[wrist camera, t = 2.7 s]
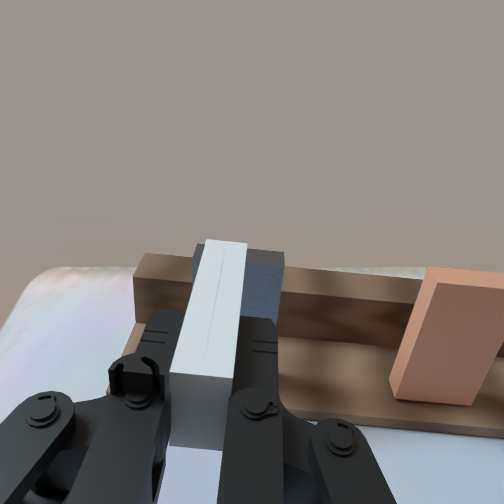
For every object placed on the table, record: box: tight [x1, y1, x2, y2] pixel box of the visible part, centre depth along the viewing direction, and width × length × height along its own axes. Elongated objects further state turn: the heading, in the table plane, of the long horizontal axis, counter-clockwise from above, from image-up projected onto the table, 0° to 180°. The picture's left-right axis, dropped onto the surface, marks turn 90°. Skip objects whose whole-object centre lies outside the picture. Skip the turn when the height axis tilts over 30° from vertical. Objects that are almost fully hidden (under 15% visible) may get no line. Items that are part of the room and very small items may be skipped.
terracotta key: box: [389, 266, 504, 406], centre depth 32 cm, size 6×2×11 cm, turn 88°
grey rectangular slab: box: [192, 244, 285, 326], centre depth 32 cm, size 6×2×11 cm, turn 88°
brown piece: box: [106, 253, 504, 438], centre depth 36 cm, size 34×12×6 cm, turn 88°
